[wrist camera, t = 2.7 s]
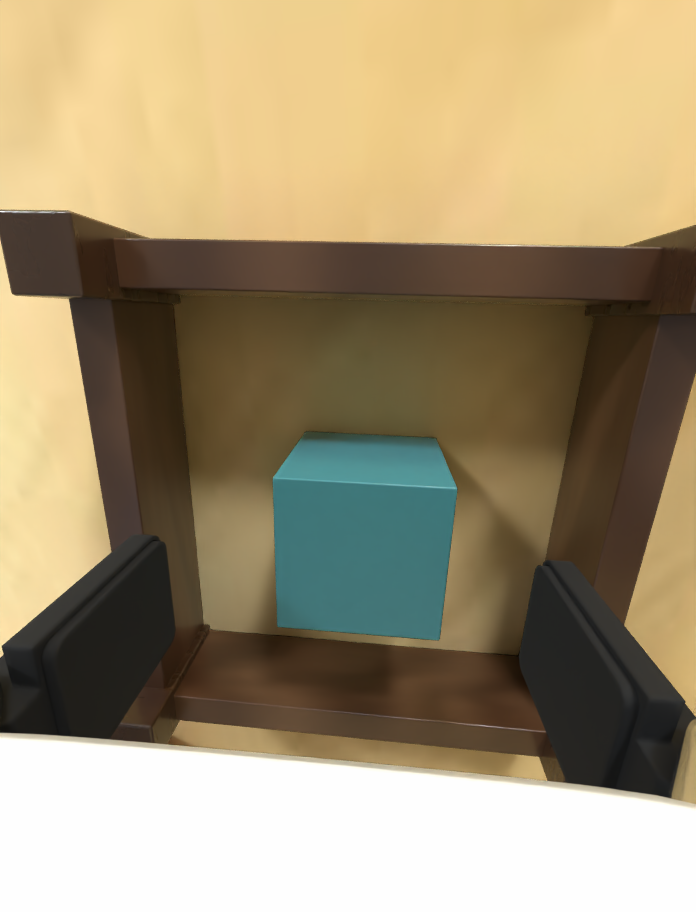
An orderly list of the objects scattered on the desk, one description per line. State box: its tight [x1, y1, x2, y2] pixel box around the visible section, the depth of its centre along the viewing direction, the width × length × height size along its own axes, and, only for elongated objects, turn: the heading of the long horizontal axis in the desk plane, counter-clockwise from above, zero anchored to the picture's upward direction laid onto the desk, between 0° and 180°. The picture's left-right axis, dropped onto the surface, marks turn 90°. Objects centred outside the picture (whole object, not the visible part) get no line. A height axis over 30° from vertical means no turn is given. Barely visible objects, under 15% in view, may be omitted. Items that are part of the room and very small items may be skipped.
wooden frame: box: [0, 210, 696, 783], centre depth 14 cm, size 17×17×5 cm
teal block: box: [273, 431, 457, 640], centre depth 14 cm, size 5×5×5 cm
